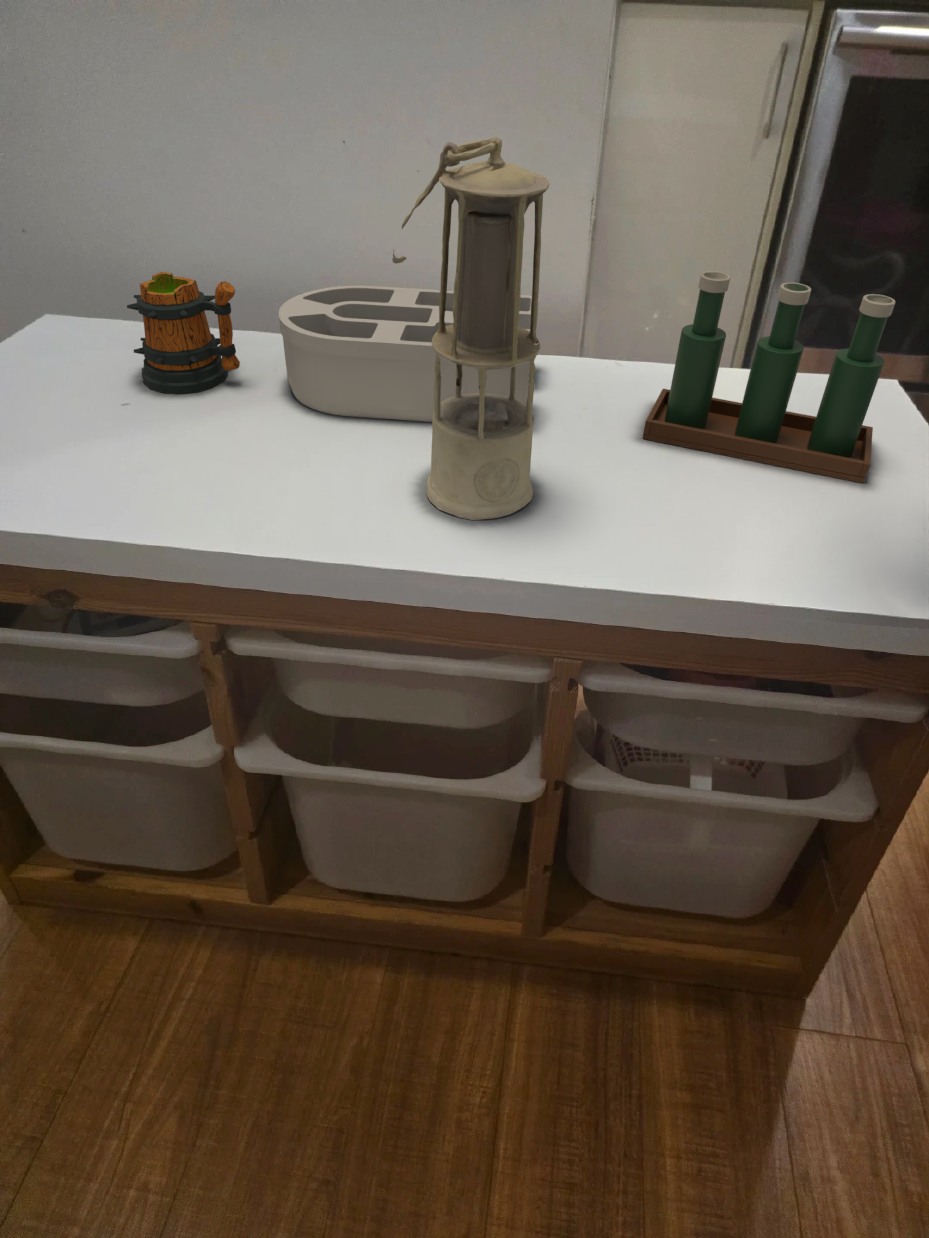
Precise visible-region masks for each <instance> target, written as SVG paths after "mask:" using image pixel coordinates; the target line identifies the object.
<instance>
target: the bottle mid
mask: <svg viewBox="0 0 929 1238" xmlns="http://www.w3.org/2000/svg"><path fill="white" fill-rule="evenodd" d="M811 291H812V288H811V287H810V286H808V285H806V284H804V283H799V282H783V283H781V284H780V286H779V289H778V295H777V300H778V301H777V307H776V310H775V314H774V318H773V322H772V326H771V329H770V330H771V331H770V333H769V335H767V336H763V337H760V338H759V339H758V340H757V341H756V342H757V343H756V346H755V350H754V355H753V359H752V363H751V367H750V370H749V374H748V379H747V383H746V388H745V390H744V395H743V397H742V398H743V399H742V401H741V403H742V406H741V410H740V414H739V418H738V422H737V426H736V430H735V436H739V437H744V438H749V439H754V440H760V441H765V442H770V443H776V442H777V441H778V437H779V434H780V430H781V427H782V423H783V420H784V416H785V413H786V411H787V409H788V406H789V402H790V398H791V395H792V391H793V387H794V384H795V381H796V378H797V374H798V370H799V367H800V364H801V360H802V356H803V352H804V349H805V348H804V345H803V344H802V343H801V342H799V341H798V340H796V338H797V335H798V332H799V327H800V324H801V320H802V316H803V314H804V309H805V306H806V305H807V304H808V303H809V299H810V296H811V293H812V292H811Z"/></svg>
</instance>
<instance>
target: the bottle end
mask: <svg viewBox="0 0 929 1238" xmlns="http://www.w3.org/2000/svg"><path fill="white" fill-rule="evenodd" d="M730 281H731V276H730V275H729V274H728V273H725V272H722V271H718V270H717V271H716V270H715V271H714V270H707V271H703V272H701V273H700V276H699V282H698V286H697V287H698V289H699V292H698V297H697V303H696V308H695V312H694V318H693V322H692V324H688V325H687V324H686V325H685V326H683V327H682V328H681V331H680V336H679V342H678V347H677V353H676V358H675V364H674V368H673V374H672V379H671V383H670V389H669V390H670V394H669V399H668V405H667V410H666V415H665V422H667V423H672V424H677V425H683V426H688V427H693V428H698V429H704V428H705V427H706V423H707V419H708V414H709V410H710V405H711V401H712V398H713V395H714V391H715V386H716V383H717V379H718V374H719V369H720V365H721V361H722V356H723V352H724V347H725V342H726V339H727V338H726V337H727V333H726V331H725V330H724V329H722V328H720V327H719V322H720V318H721V312H722V309H723V304H724V299H725V294H726V292H728V291H729V290H728V289H729V285H730Z"/></svg>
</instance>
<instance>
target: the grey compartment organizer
mask: <svg viewBox="0 0 929 1238" xmlns="http://www.w3.org/2000/svg"><path fill="white" fill-rule="evenodd" d="M453 295H454V290H449V289H447V295H446V308H445V318H444V321H445V327H446V326H449V325H452V324H453V321H454V319H453ZM439 296H440V289H428V288H414V287H412V288H410V287H395V286H378V285H358V284H357V285H356V284H355V285H340V286H339V285H338V286H330V287H323V288H319V289H314V290H310V291H306V292H303V293H301V294H298V295H296V296H293V297H291V298H290V299H288V300H286V301H285V302H283V304H282V305H281V306H280V307H279V310H278V320H279V331H280V334H281V336H282V342H283V351H284V352H283V353H284V360H285V368H286V377H287V378H286V379H287V381H288V383H289V386H290V389H291V391H292V393H293V396H294V397H295V399H297V401H298V402H300V403H301V404H302V405H304V406H306V407H307V408H309V409H312V410H315V411H318V412H320V413H325V414H328V415H335V416H342V417H343V416H344V417H345V416H346V417H355V418H370V419H371V418H374V419H385V420H387V419H388V420H398V421H399V420H401V421H413V422H414V421H415V422H427V423H428V422H430V423H432V418H433V412H434V378H435V360H436V352H435V350H434V348H433V346H432V338H433V336H434V335H435V333H436V332H437V331H438V329H439ZM531 302H532V294H531V295H530V294H520V310H519V323H518V327H522V328H524V329H526V330H528V331H529V332H530V327H531ZM539 302H540V295H538V305H539V304H540V303H539ZM538 315H539V314H538ZM538 315H537V317H539V316H538ZM534 345H536V343H535V344H534ZM440 359H441V361H440V364H441V365H440V372H441V374H440V376H441V398H440V403H441V402H443V401H444V400H446V399H449V398H451V397H454V396H455V391H456V363H453V362H451V361H449V360H447V359H445V358H443V357H442V356H441V357H440ZM529 372H530V369H529V361H525V362H523V363H521V364H519V365H517V367H516V387H515V396H514V399H515V400H517V401H519V402H521V403H522V404H524V405H525V406H526V401H527V397H528V390H529V387H528V386H529ZM486 376H487V379H486V387H485V393H491V394H497V395H502V396H506V397H509V396H510V379H511V368H510V367H508V368H503V369H490V370H487V372H486ZM478 383H479V379H478V370H477V369H476V368H474V367H468V366H465V365H462V389H461V395H463V394H471V393H479V384H478Z"/></svg>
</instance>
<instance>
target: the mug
mask: <svg viewBox="0 0 929 1238" xmlns="http://www.w3.org/2000/svg"><path fill="white" fill-rule="evenodd" d="M151 277H152V278H151V279H150V280H147V281H145V282H139V289H140V291H139V292H140V294H133V298H134V299H136V302H134V303H129V304H127V305H126V309H129V310H135V311H138V314H140V315H142V320H143V321H142V322H143V329H144V337H140V339H139V340H140V341H141V342H142V344H141V345H142V346H141V347H139V348H135V349H133V353H134V354H139V355H143V357H144V359H143V367H142V368H141V378H142V382H143V384H144V385H145V386H146V387H147V388H148V389H150V390H151V391H155V392H160V393H163V394H173V395H182V394H183V395H184V394H194V393H199V392H202V391H206V390H210V389H213V388H215V387H217V386H218V385H220V384H222V383H224V381H225V380H226V379H227V378H228V376H229V374H228V371H233V370H234V371H235V370H237V369H238V368H240V366H241V362H240V360H239V358H238V357H237V356H236V353H237V349H236V345H235V343H233V337H234V332H233V331H234V330H233V323H232V318H231V313H232V306H231V302H230V301H231V300H232V299H233V298H234V296H235V293H236V289H235V287H234V285H232V283H230V282H228V281H220V282H219V283H217V286H216V287H215V290H214V295H205V294H204V292H203V291H200V289H199V287H198V283H197V281H196V280H195V279H193V278H189V277H184V276H174V275H173V272H167V271H166V272H165V271H160V272H157V273H155V274H152V276H151ZM213 300H214V301H213ZM206 311H210V312H213V313H214V315H217V322H218V334H219V337H215V335H214V334H213V333H212V332H211V329H210V326H209V321H208V318H207V315H206Z"/></svg>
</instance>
